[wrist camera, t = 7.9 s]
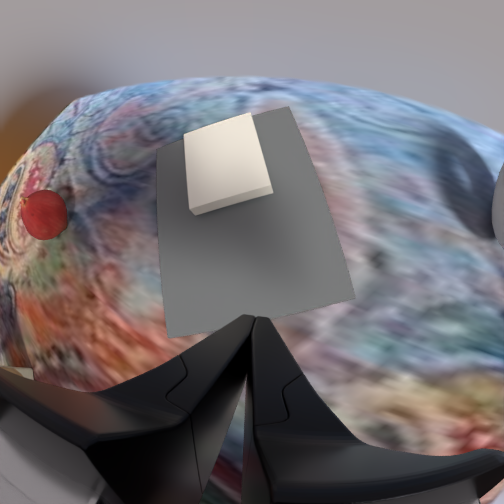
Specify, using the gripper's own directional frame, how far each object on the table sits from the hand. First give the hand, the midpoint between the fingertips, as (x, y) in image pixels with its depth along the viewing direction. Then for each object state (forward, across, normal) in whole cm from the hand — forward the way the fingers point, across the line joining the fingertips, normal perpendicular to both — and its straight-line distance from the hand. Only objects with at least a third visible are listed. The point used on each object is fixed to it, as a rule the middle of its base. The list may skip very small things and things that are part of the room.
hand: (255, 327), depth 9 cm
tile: (+18, +5, -5) cm, 19 cm away
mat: (+16, +4, -1) cm, 17 cm away
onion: (+18, +26, +3) cm, 32 cm away
